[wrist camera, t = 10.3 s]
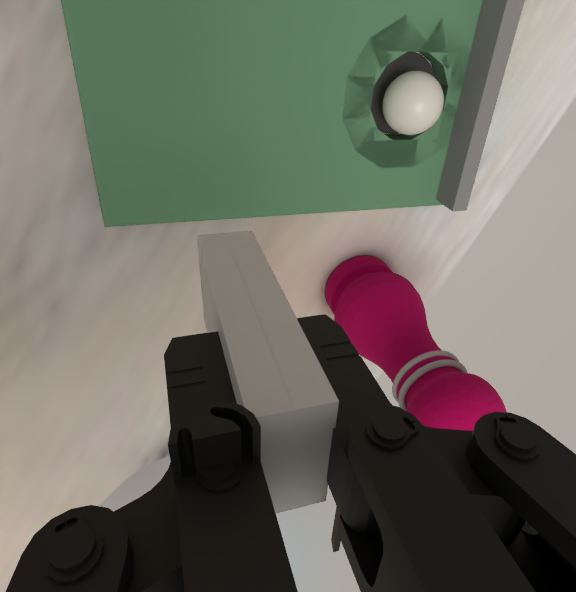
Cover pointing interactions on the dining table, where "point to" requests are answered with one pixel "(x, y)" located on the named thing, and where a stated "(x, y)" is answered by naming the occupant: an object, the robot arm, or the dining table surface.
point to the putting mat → (281, 103)
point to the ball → (413, 102)
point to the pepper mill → (406, 346)
